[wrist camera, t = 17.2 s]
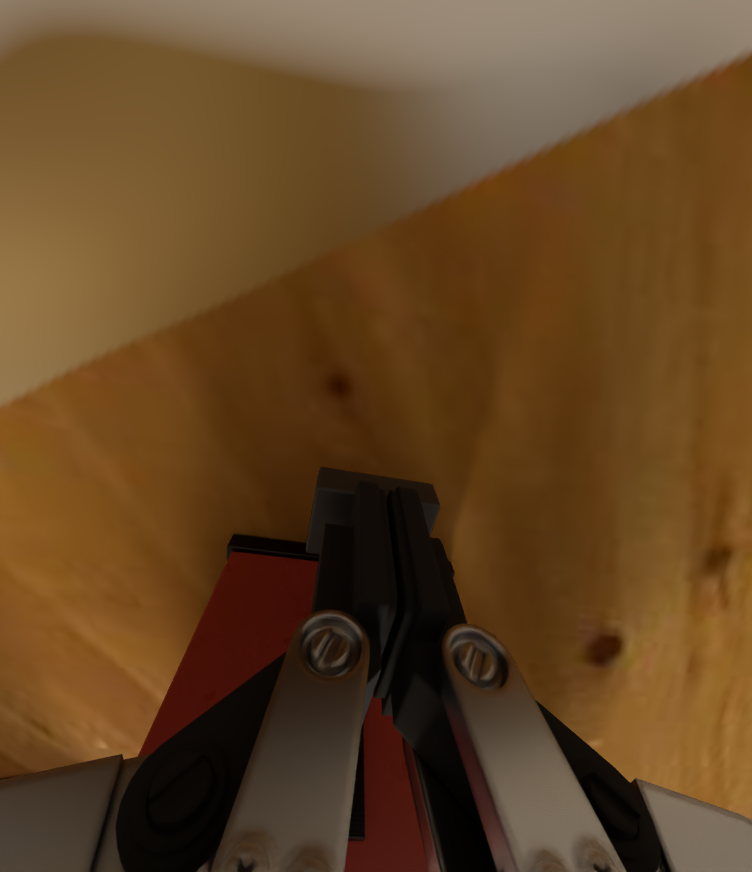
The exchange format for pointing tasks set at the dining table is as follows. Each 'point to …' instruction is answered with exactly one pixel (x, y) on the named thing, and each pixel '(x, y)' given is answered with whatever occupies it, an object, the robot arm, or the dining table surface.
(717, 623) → the dining table surface
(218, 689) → the toaster
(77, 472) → the dining table surface
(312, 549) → the bread lever
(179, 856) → the robot arm
